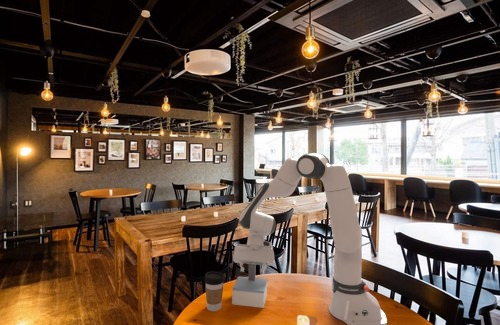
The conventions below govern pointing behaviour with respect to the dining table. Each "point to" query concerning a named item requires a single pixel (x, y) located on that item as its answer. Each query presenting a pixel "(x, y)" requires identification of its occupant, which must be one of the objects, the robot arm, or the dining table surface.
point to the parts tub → (249, 298)
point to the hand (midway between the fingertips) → (251, 272)
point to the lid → (250, 282)
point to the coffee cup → (214, 290)
